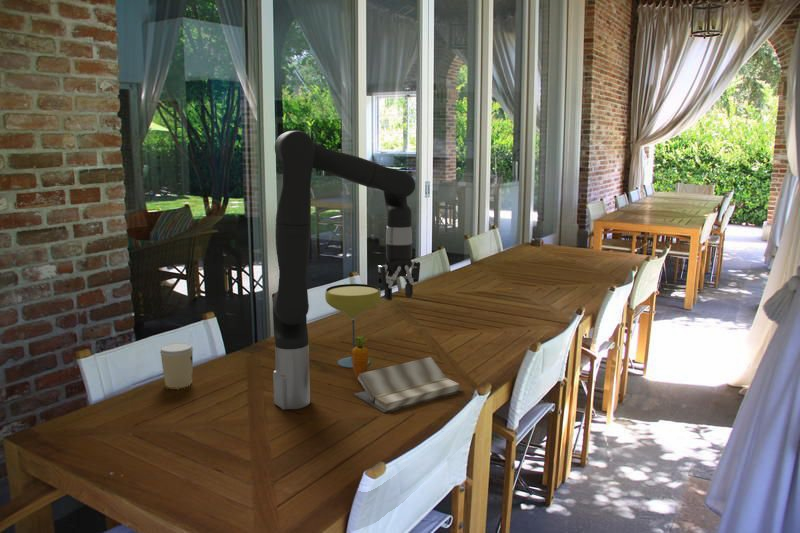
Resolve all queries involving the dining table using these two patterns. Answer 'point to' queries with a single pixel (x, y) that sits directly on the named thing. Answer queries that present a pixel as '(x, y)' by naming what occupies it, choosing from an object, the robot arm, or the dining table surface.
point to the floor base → (411, 395)
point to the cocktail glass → (352, 305)
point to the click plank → (400, 377)
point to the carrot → (360, 357)
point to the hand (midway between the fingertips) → (398, 298)
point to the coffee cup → (177, 364)
